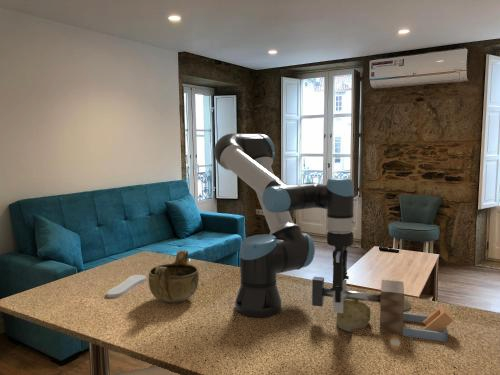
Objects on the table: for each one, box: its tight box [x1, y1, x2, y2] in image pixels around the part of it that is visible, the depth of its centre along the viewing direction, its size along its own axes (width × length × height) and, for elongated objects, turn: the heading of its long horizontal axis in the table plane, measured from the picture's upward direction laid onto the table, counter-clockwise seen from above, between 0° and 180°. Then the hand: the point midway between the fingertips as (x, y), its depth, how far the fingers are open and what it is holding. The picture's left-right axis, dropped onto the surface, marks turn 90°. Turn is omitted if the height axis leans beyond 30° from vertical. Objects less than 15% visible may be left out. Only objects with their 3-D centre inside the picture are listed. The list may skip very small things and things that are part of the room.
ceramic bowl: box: [148, 249, 200, 305], centre depth 139 cm, size 22×17×15 cm
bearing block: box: [379, 279, 405, 336], centre depth 116 cm, size 6×10×13 cm, turn 161°
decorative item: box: [336, 299, 372, 333], centre depth 118 cm, size 10×10×10 cm
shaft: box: [311, 276, 381, 307], centre depth 119 cm, size 22×3×8 cm, turn 71°
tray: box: [402, 312, 449, 343], centre depth 114 cm, size 11×11×4 cm
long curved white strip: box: [105, 274, 147, 299], centre depth 153 cm, size 7×22×2 cm, turn 167°
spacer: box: [422, 305, 454, 332], centre depth 112 cm, size 3×5×7 cm
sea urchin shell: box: [378, 295, 411, 311], centre depth 131 cm, size 9×8×8 cm
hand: (340, 306), depth 120 cm, fingers open, 9 cm apart
